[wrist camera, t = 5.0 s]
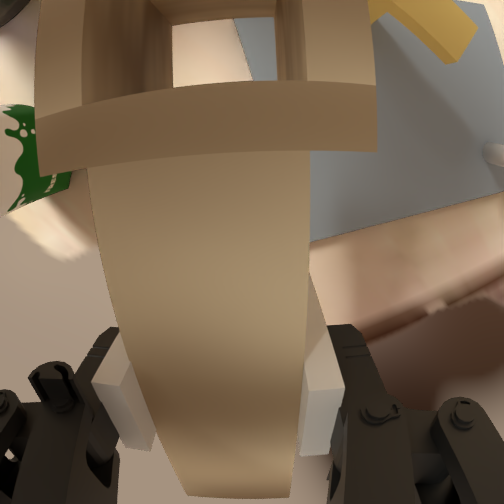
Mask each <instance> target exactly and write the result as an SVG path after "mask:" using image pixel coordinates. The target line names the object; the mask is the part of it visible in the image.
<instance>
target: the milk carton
mask: <svg viewBox="0 0 504 504" xmlns="http://www.w3.org/2000/svg"><path fill="white" fill-rule="evenodd" d="M71 172H72V171H68V172H63V173H58V174H52V175H47V176H43V177H40V173H39V164H38V155H37V143H36V129H35V107H31V106H27V105H19V104H8V105H0V217H2V216H4V215H6V214H8V213H10V212H12V211H14V210H16V209H18V208H20V207H23V206H25V205H27V204H29V203H31V202H34V201H36V200H39V199H41V198H44V197H46V196H49V195H52V194H54V193H57V192H59V191H62V190H65V189H68V187H69V182H70V177H71Z"/></svg>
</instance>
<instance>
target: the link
mask: <svg viewBox="0 0 504 504" xmlns="http://www.w3.org/2000/svg"><path fill="white" fill-rule="evenodd" d="M259 17H274V28H275V45H276V63H277V80H271V81H241V82H225V83H213V84H202V85H192V86H184V87H176V88H173V67H172V26H174V25H180V24H187V23H194V22H202V21H212V20H222V19H236V18H259ZM34 104H35V129H36V143H37V155H38V164H39V173H40V177H43V176H47V175H52V174H58V173H63V172H68V171H74V170H79V169H85V168H87V177H88V185H89V192H90V199H91V206H92V212H93V218H94V224H95V230H96V235H97V240H98V246H99V250H100V255H101V260H102V265H103V268H104V273H105V277H106V282H107V286H108V290H109V294H110V298H111V302H112V306H113V309H114V312H115V316H116V320H117V323H118V327H119V330H120V334H121V337H122V340H123V343H124V347H125V350H126V353H127V356H128V359H129V361H131V363H132V366H133V369H134V372H135V375H136V378H137V381H138V383H139V386H140V389H141V392H142V394H143V397H144V400H145V402H146V405H147V408H148V410H149V413H150V415H151V418H152V420H153V423H154V425H155V427H156V432H157V434H158V437H159V439H160V441H161V443H162V445H163V448H164V450H165V452H166V454H167V456H168V459H169V461H170V463H171V464H172V467H173V469H174V471H175V473H176V475H177V477H178V479H179V481H180V483H181V484H182V486H183V488H184V490H185V492H186V494H187V495H188V496H198V497H214V498H234V499H266V498H288V497H289V495H290V488H291V480H292V472H293V464H294V457H295V449H296V440H297V431H298V422H299V412H300V402H301V391H302V379H303V366H304V353H305V338H306V321H307V302H308V279H309V248H310V151H354V152H376V153H377V97H376V77H375V63H374V51H373V40H372V31H371V23H370V15H369V7H368V1H367V0H41V6H40V13H39V21H38V30H37V41H36V54H35V79H34Z"/></svg>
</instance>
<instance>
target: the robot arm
mask: <svg viewBox="0 0 504 504" xmlns="http://www.w3.org/2000/svg"><path fill="white" fill-rule="evenodd" d="M29 1H30V0H0V27H1V26H3V25H4V24H6V23H7V22H8V21H10V20H11V19H12V18H13V17H14V16H15V15H16V14H18V13H19V12H20V11H21V10H22V9H23V7H24V6H25V5H26V4H27V3H28V2H29ZM28 379H29V381H30V383H31V385H32V386H33V388H34V390H35V391H36V393H37V395H38V397H39V398H40V400H41V402H30V403H21V402H20V400H19V399H18V397H17V395H16V394H15V393H14V392H12V391H11V390H6V389H4V390H0V504H117V493H118V478H119V465H120V464H119V463H120V458H119V453H118V451H117V450H116V448H115V447H116V444H117V442H118V439H119V437H120V439H121V440H122V442H123V444H124V445H125V447H126V448H132V449H138V450H144V451H151V447H152V444H153V440H154V437H155V433H156V427H155V425H154V423H153V420H152V418H151V415H150V413H149V410H148V408H147V405H146V402H145V400H144V397H143V394H142V392H141V389H140V386H139V383H138V381H137V378H136V375H135V372H134V369H133V366H132V363H131V361H129V359H128V356H127V353H126V350H125V347H124V343H123V340H122V337H121V334H120V330H119V327H110V328H108V329H107V330H106V331H105V332H103V333H102V334H101V335H99V337H98V338H97V340H96V342H95V343H94V344H93V348H91V349H90V351H89V352H88V354H87V356H86V357H85V359H84V361H83V362H82V363H81V365H80V367H79V368H78V370H77V372H76V373H75V374H74V372H73V370H72V368H71V366H70V365H68V364H66V363H65V362H60V361H53V362H47V363H45V364H42V365H40V366H38V367H37V368H36V369H35V370H33V371H32V372H31V374H30V375H29V377H28ZM297 435H298V444H299V454H300V456H312V455H323V454H328V453H329V449H330V446H331V448H332V454H333V462H332V465H331V468H330V471H329V474H328V477H327V480H329V488H328V497H327V504H504V441H503V440H502V438H501V436H500V435H499V433H498V431H497V430H496V428H495V426H494V425H493V423H492V422H491V420H490V418H489V417H488V415H487V414H486V412H485V411H484V409H483V408H482V407H481V406H480V405H479V404H478V403H477V402H475V401H473V400H471V399H469V398H464V397H457V398H451V399H449V400H447V401H445V402H444V403H443V405H442V406H441V407H440V409H439V410H438V411H424V410H414V409H408V408H405V407H403V405H402V403H400V401H399V400H398V399H396V398H395V397H393V396H391V395H389V394H387V392H386V390H385V388H384V385H383V383H382V380H381V378H380V376H379V373H378V370H377V368H376V366H375V363H374V361H373V359H372V357H371V356H370V352H369V349H368V347H366V343H365V340H364V338H363V336H362V334H361V333H360V332H359V331H358V330H357V329H356V328H355V327H354V326H352V325H351V324H343V325H329V326H326V322H325V319H324V316H323V313H322V310H321V307H320V304H319V300H318V297H317V294H316V291H315V288H314V285H313V282H312V279H311V276H310V273H309V279H308V302H307V321H306V338H305V353H304V366H303V379H302V391H301V402H300V412H299V422H298V431H297ZM8 449H9V450H10V451H11V452H12V453H13V454H14V458H12V459H8V458H7V457H6V456H5V453H6V452H7V450H8Z"/></svg>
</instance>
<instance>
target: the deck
mask: <svg viewBox="0 0 504 504" xmlns="http://www.w3.org/2000/svg"><path fill="white" fill-rule="evenodd" d="M367 1H368V7H369V15H370V23H371V31H372V40H373V51H374V63H375V77H376V97H377V153H376V152H354V151H310V242H313V241H317V240H320V239H324V238H328V237H332V236H336V235H340V234H344V233H347V232H351V231H355V230H359V229H363V228H367V227H371V226H374V225H378V224H382V223H386V222H390V221H394V220H397V219H401V218H405V217H409V216H413V215H416V214H420V213H424V212H428V211H432V210H435V209H439V208H443V207H447V206H451V205H454V204H458V203H462V202H466V201H469V200H473V199H477V198H481V197H484V196H488V195H492V194H496V193H499V192H503V191H504V65H503V61H502V58H501V54H500V51H499V47H498V44H497V41H496V37H495V34H494V31H493V28H492V25H491V23H490V20H489V17H488V14H487V12H486V9H485V7H484V5H482V4H477V3H471V2H465V1H458V0H367ZM234 23H235V26H236V29H237V32H238V35H239V38H240V41H241V44H242V47H243V50H244V53H245V56H246V59H247V62H248V66H249V69H250V72H251V75H252V78H253V81H271V80H277V63H276V45H275V28H274V17H259V18H236V19H234Z"/></svg>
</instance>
